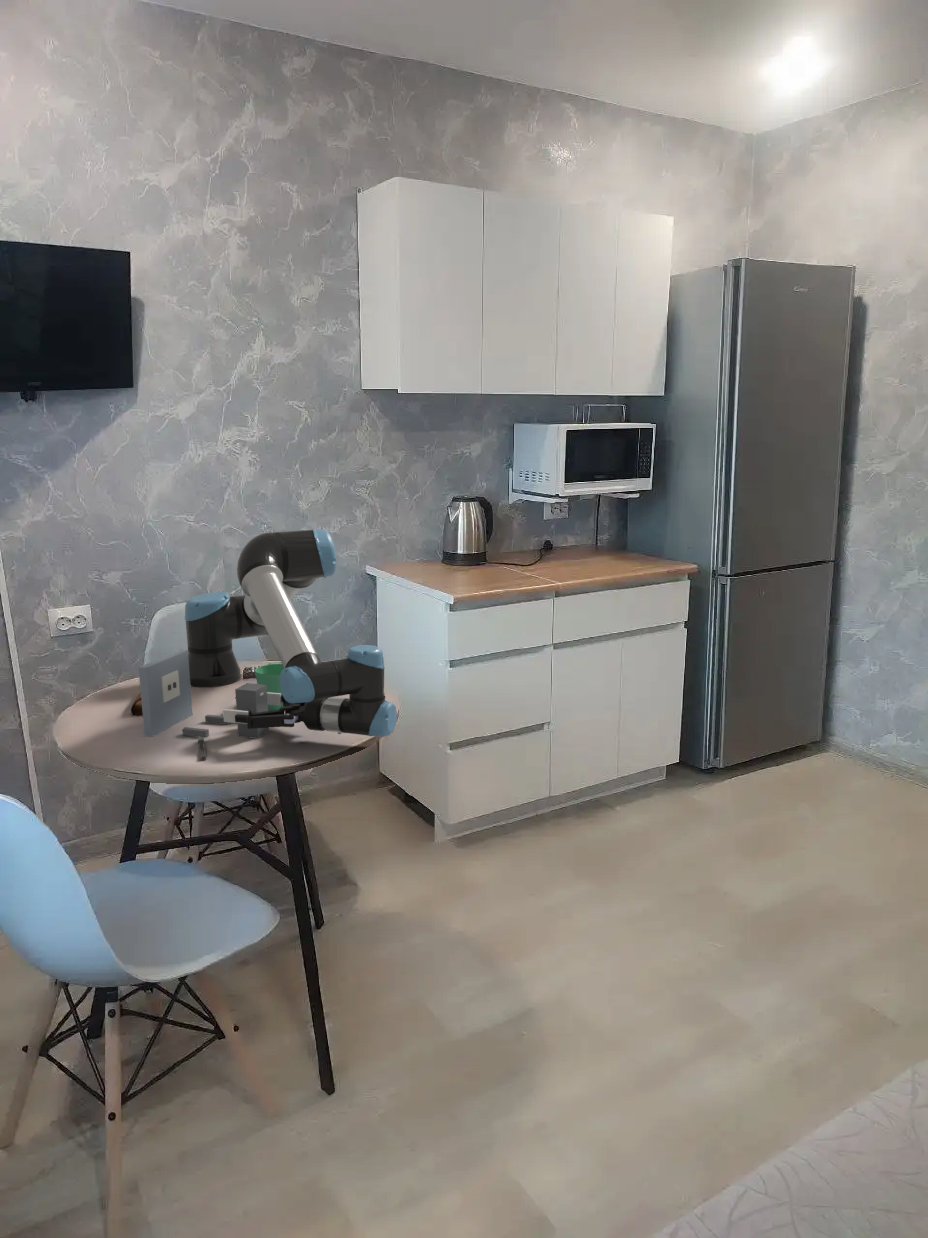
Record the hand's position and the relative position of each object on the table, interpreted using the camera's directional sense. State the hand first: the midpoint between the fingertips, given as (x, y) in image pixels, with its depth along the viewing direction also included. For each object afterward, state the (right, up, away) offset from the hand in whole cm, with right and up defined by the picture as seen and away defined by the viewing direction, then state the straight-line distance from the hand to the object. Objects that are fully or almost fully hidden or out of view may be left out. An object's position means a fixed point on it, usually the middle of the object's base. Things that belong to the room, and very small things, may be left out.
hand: (240, 705), depth 204 cm
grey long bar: (-6, -9, -10) cm, 15 cm away
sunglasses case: (-27, -2, +23) cm, 35 cm away
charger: (+3, -6, +1) cm, 7 cm away
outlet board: (-12, -5, +5) cm, 14 cm away
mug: (+4, -2, +21) cm, 21 cm away
